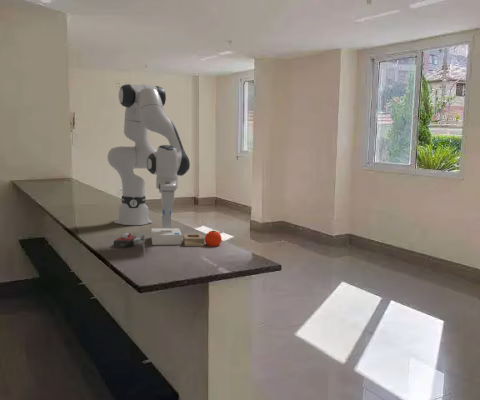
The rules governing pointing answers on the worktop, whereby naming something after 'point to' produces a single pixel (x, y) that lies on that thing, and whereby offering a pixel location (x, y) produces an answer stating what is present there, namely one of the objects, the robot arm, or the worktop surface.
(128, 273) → the worktop surface
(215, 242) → the clementine
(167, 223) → the plug
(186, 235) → the holster
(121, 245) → the walkie-talkie
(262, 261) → the worktop surface
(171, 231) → the port
